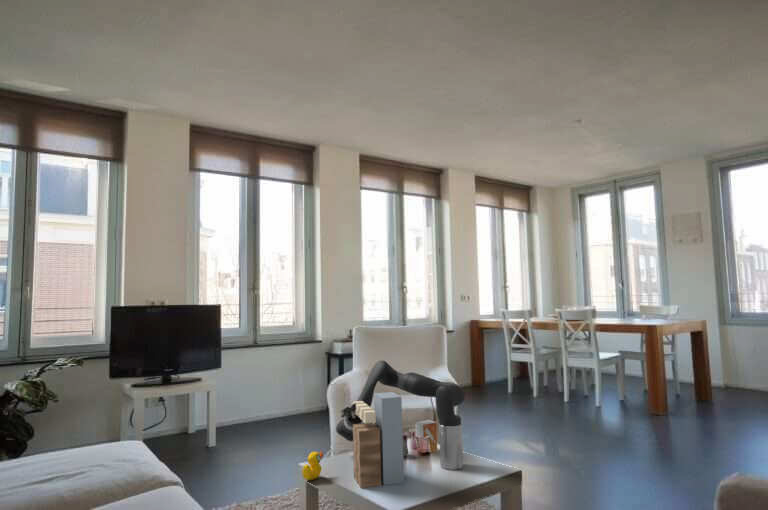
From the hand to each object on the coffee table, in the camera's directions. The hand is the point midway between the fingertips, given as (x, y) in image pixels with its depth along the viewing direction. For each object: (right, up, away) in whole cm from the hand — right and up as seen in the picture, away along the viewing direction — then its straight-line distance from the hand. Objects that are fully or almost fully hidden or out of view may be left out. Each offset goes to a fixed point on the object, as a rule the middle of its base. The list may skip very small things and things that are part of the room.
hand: (360, 405), depth 204 cm
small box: (+29, -29, +27) cm, 49 cm away
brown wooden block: (+3, -26, -11) cm, 29 cm away
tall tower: (+12, -26, -9) cm, 30 cm away
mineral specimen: (+16, -29, +21) cm, 39 cm away
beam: (+2, -3, -6) cm, 7 cm away
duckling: (-19, -27, -6) cm, 34 cm away
